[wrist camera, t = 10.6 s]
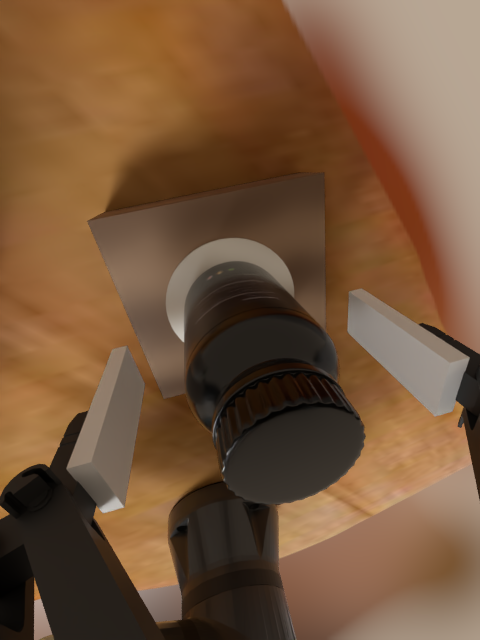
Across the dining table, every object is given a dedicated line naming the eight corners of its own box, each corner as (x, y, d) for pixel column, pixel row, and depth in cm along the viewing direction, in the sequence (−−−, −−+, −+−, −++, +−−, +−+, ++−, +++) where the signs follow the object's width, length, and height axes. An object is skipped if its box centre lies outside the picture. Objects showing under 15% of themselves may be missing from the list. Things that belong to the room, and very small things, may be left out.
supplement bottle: (291, 326, 21) (401, 478, 10) (207, 360, 21) (233, 547, 10) (264, 240, 17) (389, 336, 7) (165, 281, 17) (137, 440, 7)
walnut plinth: (307, 332, 27) (328, 358, 23) (166, 368, 26) (163, 401, 22) (299, 172, 20) (326, 172, 16) (104, 212, 19) (85, 222, 15)
